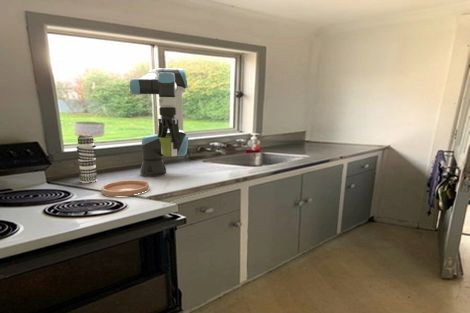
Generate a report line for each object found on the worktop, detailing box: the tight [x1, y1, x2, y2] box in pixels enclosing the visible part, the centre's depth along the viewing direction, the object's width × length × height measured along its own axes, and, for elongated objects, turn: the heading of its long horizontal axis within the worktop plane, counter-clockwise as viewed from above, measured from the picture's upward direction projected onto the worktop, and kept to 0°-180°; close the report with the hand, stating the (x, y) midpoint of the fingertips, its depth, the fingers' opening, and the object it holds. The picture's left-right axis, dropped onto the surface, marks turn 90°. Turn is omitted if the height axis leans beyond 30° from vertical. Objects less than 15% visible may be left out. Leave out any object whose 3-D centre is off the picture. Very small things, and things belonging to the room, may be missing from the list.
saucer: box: [100, 179, 150, 197], centre depth 144 cm, size 21×21×2 cm
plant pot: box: [159, 136, 173, 157], centre depth 144 cm, size 9×9×9 cm
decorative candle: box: [76, 133, 98, 184], centre depth 160 cm, size 9×9×25 cm
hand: (169, 154), depth 144 cm, fingers closed on plant pot, 8 cm apart
